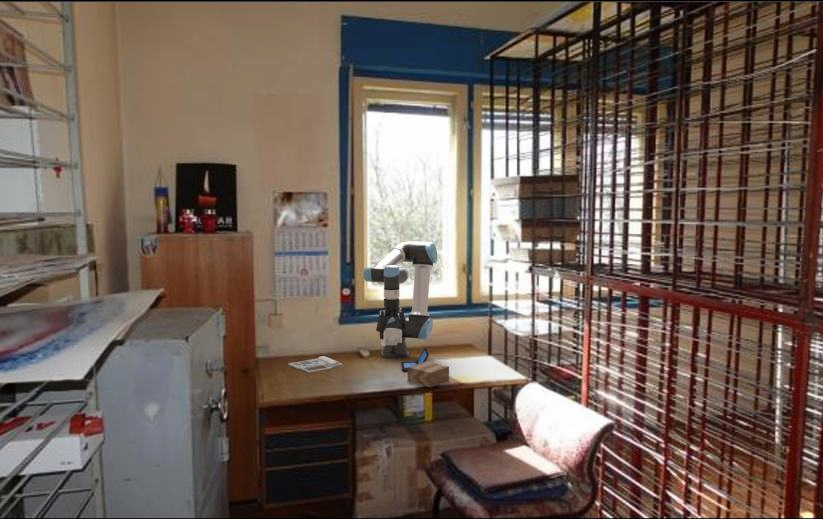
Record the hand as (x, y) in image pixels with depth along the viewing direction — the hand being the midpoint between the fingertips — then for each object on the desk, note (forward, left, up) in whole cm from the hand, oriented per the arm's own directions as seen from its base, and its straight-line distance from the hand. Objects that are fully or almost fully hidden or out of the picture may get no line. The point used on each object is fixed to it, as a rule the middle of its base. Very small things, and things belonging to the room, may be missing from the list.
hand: (391, 344), depth 259 cm
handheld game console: (-6, +20, -17) cm, 27 cm away
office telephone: (-41, -17, -17) cm, 48 cm away
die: (0, 0, 0) cm, 0 cm away
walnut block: (+15, +11, -17) cm, 25 cm away
